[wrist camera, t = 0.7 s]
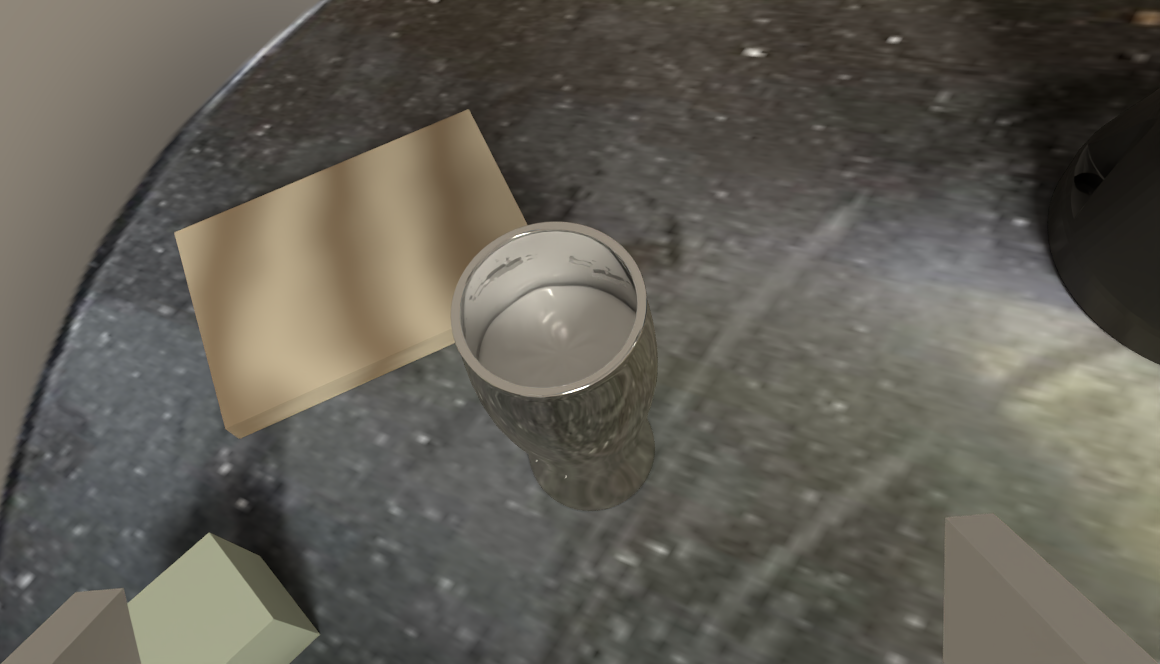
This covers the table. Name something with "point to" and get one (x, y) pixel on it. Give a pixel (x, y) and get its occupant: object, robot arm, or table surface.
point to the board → (342, 270)
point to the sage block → (218, 611)
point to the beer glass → (563, 357)
